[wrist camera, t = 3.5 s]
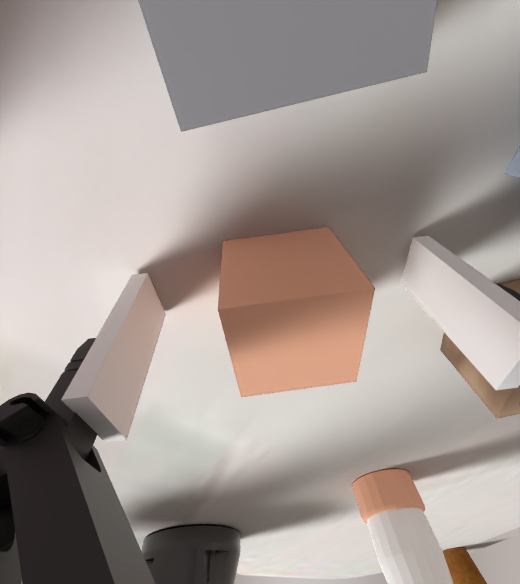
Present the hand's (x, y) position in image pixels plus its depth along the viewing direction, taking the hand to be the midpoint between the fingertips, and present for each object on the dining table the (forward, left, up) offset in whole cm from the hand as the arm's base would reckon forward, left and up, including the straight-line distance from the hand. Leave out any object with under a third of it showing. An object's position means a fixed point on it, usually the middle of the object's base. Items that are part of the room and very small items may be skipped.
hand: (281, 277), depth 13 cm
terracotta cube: (0, 0, 0) cm, 0 cm away
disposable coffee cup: (-97, -42, 0) cm, 106 cm away
